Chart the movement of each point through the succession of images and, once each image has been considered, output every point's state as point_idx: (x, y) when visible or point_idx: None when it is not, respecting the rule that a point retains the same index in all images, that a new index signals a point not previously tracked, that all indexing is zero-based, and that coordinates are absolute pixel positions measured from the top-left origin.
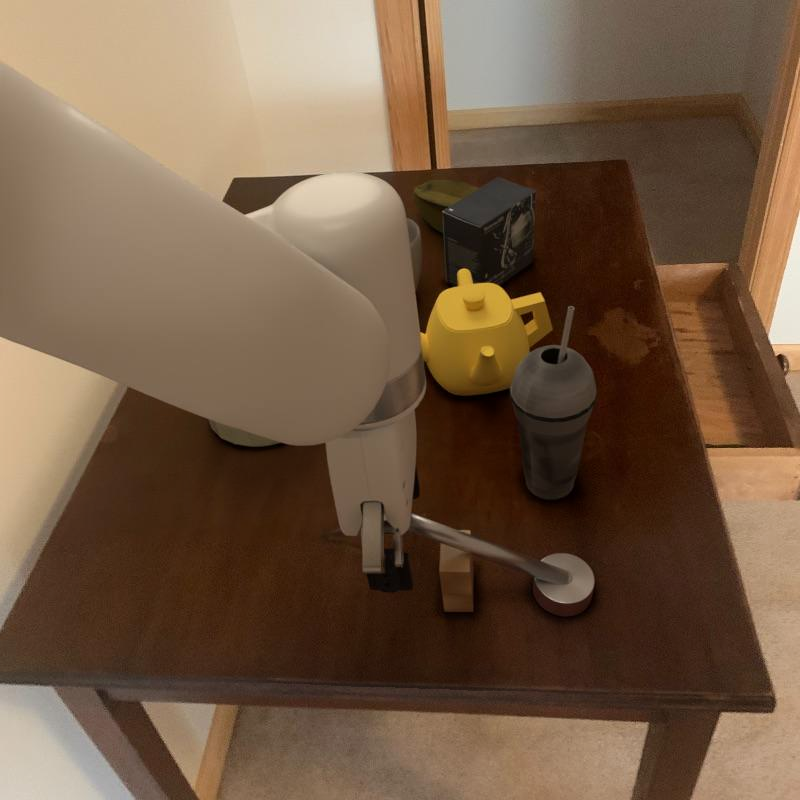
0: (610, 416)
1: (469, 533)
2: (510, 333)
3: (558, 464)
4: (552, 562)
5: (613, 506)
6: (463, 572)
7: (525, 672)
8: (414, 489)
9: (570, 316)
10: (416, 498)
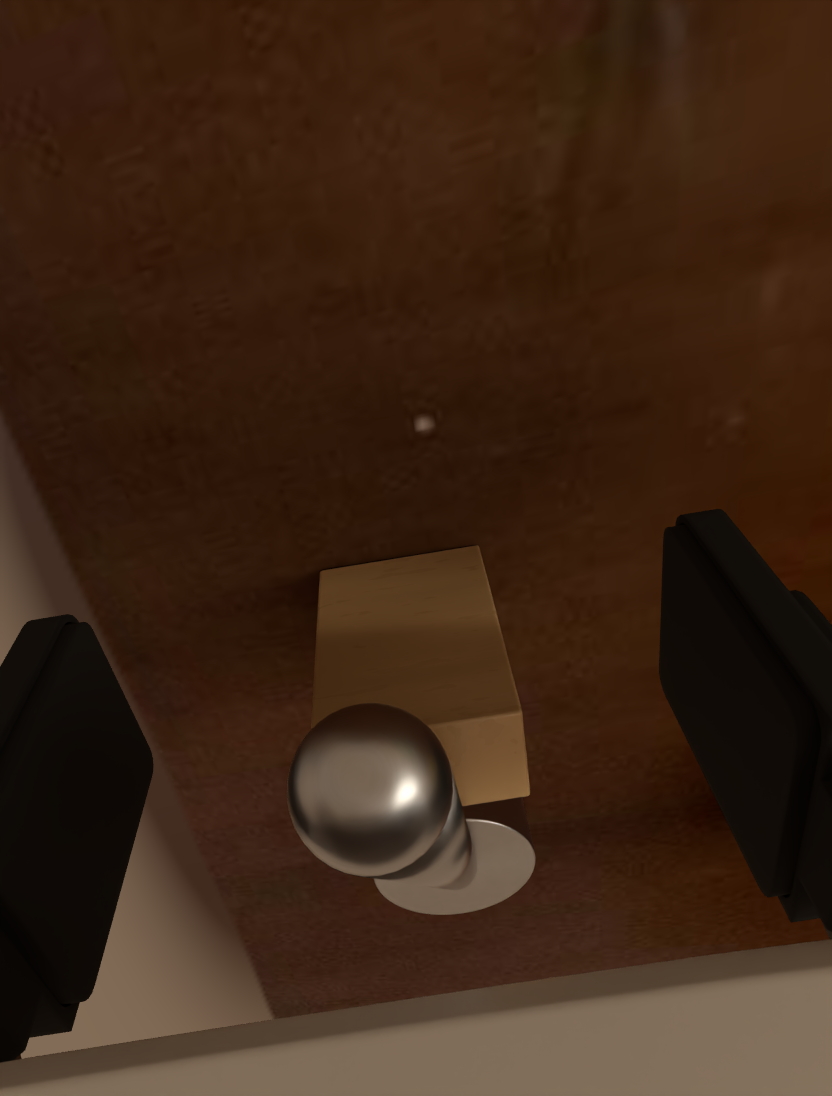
0: None
1: (513, 796)
2: None
3: (828, 931)
4: (499, 846)
5: (717, 865)
6: None
7: (194, 773)
8: (687, 732)
9: None
10: (660, 677)
